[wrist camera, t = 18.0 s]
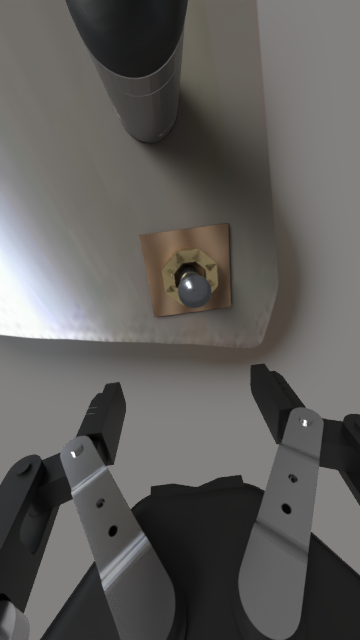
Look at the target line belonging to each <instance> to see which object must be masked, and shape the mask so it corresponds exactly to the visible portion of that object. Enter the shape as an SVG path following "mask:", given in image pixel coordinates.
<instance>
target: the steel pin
mask: <svg viewBox="0 0 360 640" xmlns="http://www.w3.org/2000/svg"><path fill="white" fill-rule="evenodd" d="M179 279H180V284H179V287H178V295H179V299H180V301H181V302H182V303H183V304H184V305H185V306H187V307H190V308H198V307H201V306H203V305H205V304H206V303H207V302H208V300H209V299H210V296H211V286H210V284H209V282H208V281H207V280H206V278H204V277H203V276H201V275H199V273H198V272H197V270H196V268H195V267H194V266H192V265H185V266H183V267H182V268H181V269H180V271H179Z"/></svg>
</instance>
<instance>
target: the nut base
mask: <svg viewBox="0 0 360 640" xmlns="http://www.w3.org/2000/svg"><path fill="white" fill-rule="evenodd" d="M140 241H141V246H142V252H143V257H144V262H145V268H146V273H147V279H148V284H149V290H150V295H151V300H152V306H153V311H154V317H159V316H166V315H174V314H181V313H189V312H196V311H204V310H211V309H219V308H226V307H231V292H230V262H229V232H228V223H226V224H219V225H211V226H204V227H197V228H189V229H182V230H174V231H167V232H160V233H152V234H145V235H140ZM185 265H192V266H194V267H195V268H196V270H197V272H198V273H199V275H201V276H203V277H204V278H206V280H207V281H208V282H209V284H210V286H211V296H210V299H209V300H208V302H207V303H206V304H205V305H203V306H201V307H198V308H190V307H187V306H185V305H184V304H183V303H182V302H181V301H180V299H179V295H178V287H179V284H180V279H179V271H180V269H181V268H182V267H183V266H185Z"/></svg>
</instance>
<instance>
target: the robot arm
mask: <svg viewBox="0 0 360 640" xmlns="http://www.w3.org/2000/svg"><path fill="white" fill-rule="evenodd" d="M187 2H188V0H66V3H67V6H68V8H69V11H70V14H71V16H72V18H73V21H74V23H75V25H76V27H77V29H78V31H79V33H80V35H81V37H82V40H83V42H84V44H85V46H86V48H87V50H88V52H89V55H90V57H91V59H92V61H93V63H94V65H95V67H96V69H97V71H98V73H99V76H100V78H101V80H102V82H103V84H104V86H105V88H106V91H107V93H108V95H109V97H110V99H111V101H112V103H113V106H114V108H115V110H116V112H117V115H118V117H119V119H120V121H121V123H122V125H123V126H124V128H125V130H126V131H127V132H128V133H129V134H130V135H131V136H132V137H134V138H135V139H137V140H139V141H141V142H146V143H152V142H156V141H159V140H161V139H163V138H164V137H165V136H166V135H167V134H168V133H169V132H170V131H171V129H172V127H173V126H174V123H175V120H176V117H177V111H178V99H179V88H180V75H181V63H182V50H183V37H184V24H185V15H186V9H187ZM250 385H251V391H252V395H253V397H254V399H255V401H256V403H257V405H258V407H259V409H260V411H261V413H262V415H263V418H264V420H265V422H266V423H267V426H268V428H269V430H270V432H271V434H272V436H273V438H274V440H275V442H276V444H279V446H278V449H277V453H276V456H275V459H274V463H273V466H272V470H271V473H270V476H269V480H268V483H267V487H266V490H265V491H264V490H262V489H260V488H258V487H256V486H254V485H250V484H247V483H243V480H242V477H241V475H236V476H229V477H221V478H217V479H215V480H213V481H210V482H208V483H206V484H203V485H201V486H199V487H190V486H185V485H178V484H166V485H159V486H152V487H151V495H149V496H147V497H145V498H144V499H142V500H141V501H139V502H138V503H137V504H136V505H135V506H134V507H133V508H132V509H130V508H129V506H128V504H127V502H126V500H125V499H124V497H123V495H122V493H121V491H120V490H119V488H118V486H117V484H116V482H115V481H114V479H113V477H112V475H111V473H110V471H109V470H108V468H107V466H108V465H114V461H115V457H116V452H117V448H118V444H119V439H120V435H121V430H122V425H123V421H124V417H125V413H126V402H125V399H124V395H123V392H122V388H121V385H120V383H119V382H116V383H109V384H106V385H105V388H104V390H103V393H99V394H97V395H96V396H95V398H94V399H93V400H92V401H91V403H90V406H89V409H88V410H87V413H86V415H85V417H84V420H83V422H82V424H81V426H80V429H79V431H78V434H77V436H76V438H74V439H72V440H70V441H69V442H68V443H67V444H66V445H65V446H64V447H63V449H62V451H61V453H58V454H56V455H54V456H51V457H49V458H46V459H44V460H42V459H41V458H40V456H38V455H29V456H27V457H24V458H22V459H21V460H19V461H18V462H17V463H15V464H14V465H13V466H12V468H11V469H10V470H9V471H8V473H7V475H6V476H5V478H4V480H3V481H2V483H1V485H0V640H28V637H29V622H28V619H27V617H26V616H25V615H24V611H25V608H26V605H27V602H28V599H29V596H30V592H31V590H32V587H33V584H34V580H35V578H36V575H37V572H38V569H39V566H40V563H41V560H42V557H43V554H44V551H45V548H46V545H47V542H48V539H49V536H50V533H51V530H52V527H53V524H54V520H55V518H56V515H57V512H58V509H59V506H60V505H61V504H63V503H65V502H67V501H69V500H71V499H73V500H74V503H75V506H76V508H77V511H78V514H79V517H80V520H81V523H82V525H83V529H84V532H85V534H86V537H87V540H88V543H89V545H90V548H91V551H92V554H93V557H94V560H95V561H94V562H93V564H92V565H91V567H90V568H89V570H88V571H87V573H86V574H85V575H84V577H83V578H82V580H81V581H80V583H79V584H78V585H77V587H76V588H75V590H74V591H73V593H72V594H71V596H70V597H69V598H68V600H67V601H66V603H65V604H64V606H63V607H62V609H61V610H60V612H59V613H58V614H57V616H56V617H55V619H54V620H53V622H52V623H51V625H50V626H49V628H48V629H47V630H46V632H45V633H44V635H43V636H42V638H41V639H40V640H360V575H359V574H358V573H357V572H355V571H354V570H353V569H352V568H351V567H350V566H349V565H348V564H347V563H346V562H344V561H343V560H342V559H341V558H340V557H339V556H338V555H337V554H335V553H334V552H333V551H332V550H331V549H330V548H329V547H328V546H327V545H325V544H324V543H323V542H322V541H321V540H320V539H319V538H318V537H317V536H316V535H314V534H313V533H312V532H311V526H312V518H313V510H314V502H315V494H316V486H317V478H318V470H319V466H320V467H325V468H330V469H336V470H338V471H339V473H340V474H341V476H342V478H343V479H344V481H345V483H346V484H347V486H348V487H349V489H350V491H351V492H352V494H353V495H354V497H355V499H356V500H357V502H358V503H359V505H360V415H359V414H349V415H347V416H345V417H344V420H343V422H342V421H335V420H327V419H323V418H321V416H320V415H319V414H317V413H316V412H315V411H313V410H310V409H308V408H306V407H305V406H304V404H303V403H302V402H301V400H300V399H299V398H298V396H297V395H296V394H295V392H294V391H293V390H292V389H291V387H290V386H289V384H288V383H287V382H286V380H285V379H284V378H283V376H282V375H280V374H279V373H277V372H276V371H269V370H268V368H267V367H266V365H265V364H258V365H257V364H256V365H251V383H250Z"/></svg>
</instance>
